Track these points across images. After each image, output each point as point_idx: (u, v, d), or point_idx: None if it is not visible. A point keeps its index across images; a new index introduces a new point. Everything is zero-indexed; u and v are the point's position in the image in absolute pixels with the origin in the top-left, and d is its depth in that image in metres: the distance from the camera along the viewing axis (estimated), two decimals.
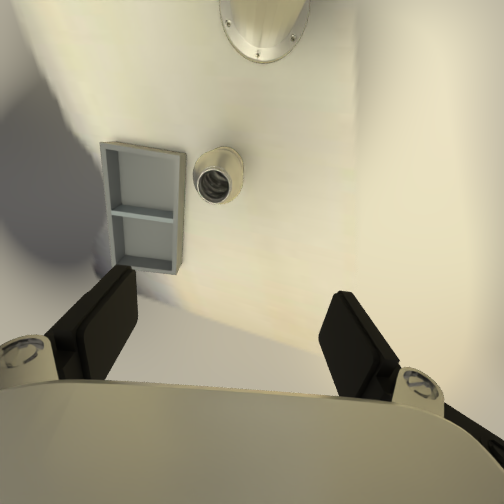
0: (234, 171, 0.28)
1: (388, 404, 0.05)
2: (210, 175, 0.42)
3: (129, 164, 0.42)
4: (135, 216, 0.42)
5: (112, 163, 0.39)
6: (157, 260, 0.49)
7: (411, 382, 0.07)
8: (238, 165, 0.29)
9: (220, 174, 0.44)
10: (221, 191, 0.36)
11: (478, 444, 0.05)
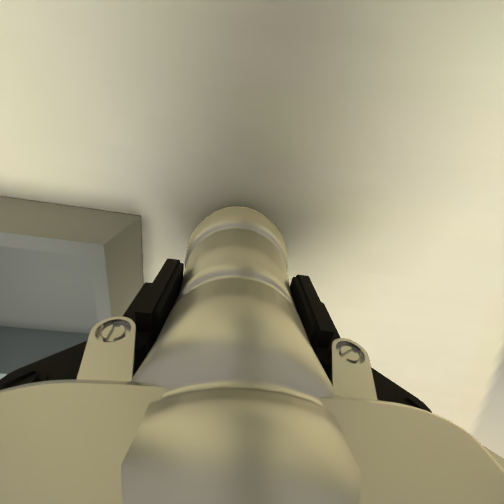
0: None
1: (388, 404, 0.05)
2: None
3: None
4: None
5: None
6: None
7: (343, 352, 0.08)
8: None
9: None
10: None
11: (478, 444, 0.05)
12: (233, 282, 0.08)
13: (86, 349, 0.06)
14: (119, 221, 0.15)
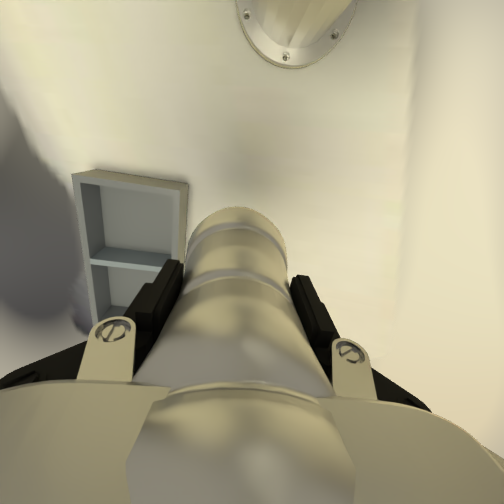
0: None
1: (388, 404, 0.05)
2: None
3: (113, 198, 0.32)
4: (121, 265, 0.32)
5: (90, 199, 0.30)
6: None
7: (343, 352, 0.08)
8: None
9: None
10: None
11: (478, 444, 0.05)
12: (233, 282, 0.08)
13: (86, 349, 0.06)
14: (180, 184, 0.31)
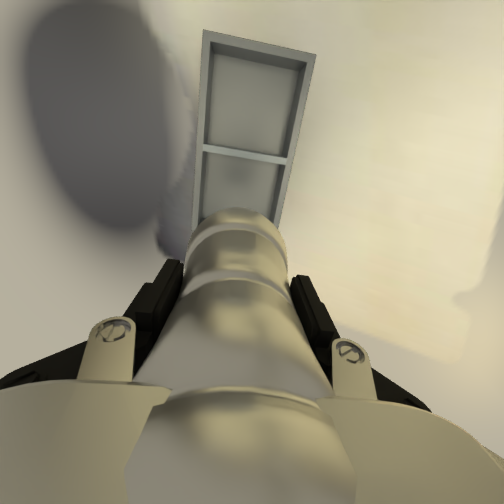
0: None
1: (388, 404, 0.05)
2: None
3: (226, 81, 0.30)
4: (235, 153, 0.29)
5: (210, 72, 0.27)
6: None
7: (343, 352, 0.08)
8: None
9: None
10: None
11: (478, 444, 0.05)
12: (233, 284, 0.08)
13: (86, 349, 0.06)
14: None
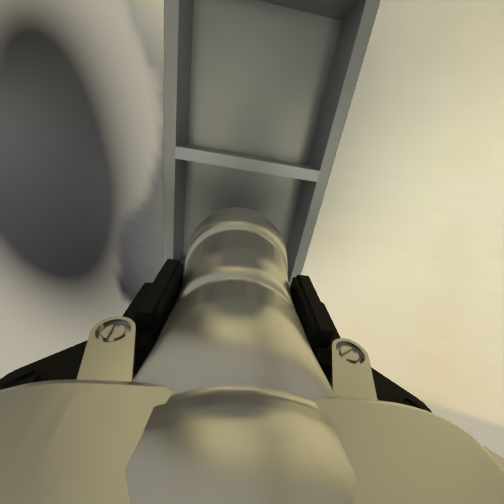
0: None
1: (388, 404, 0.05)
2: None
3: (216, 37, 0.17)
4: (232, 163, 0.17)
5: (185, 15, 0.15)
6: None
7: (343, 352, 0.08)
8: None
9: None
10: None
11: (478, 444, 0.05)
12: (233, 284, 0.08)
13: (86, 349, 0.06)
14: None
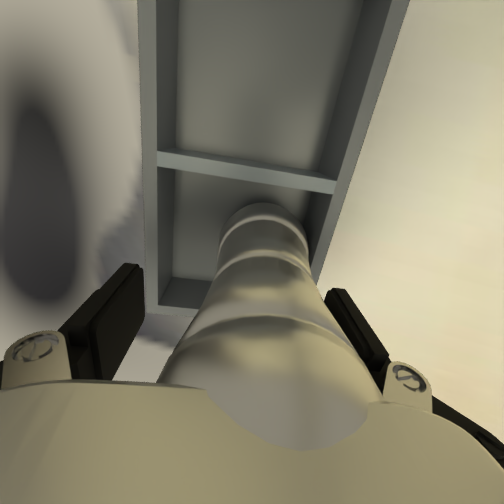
0: None
1: (388, 404, 0.05)
2: None
3: (208, 16, 0.14)
4: (228, 171, 0.14)
5: None
6: None
7: (400, 376, 0.07)
8: None
9: None
10: None
11: (478, 444, 0.05)
12: (266, 259, 0.10)
13: None
14: None
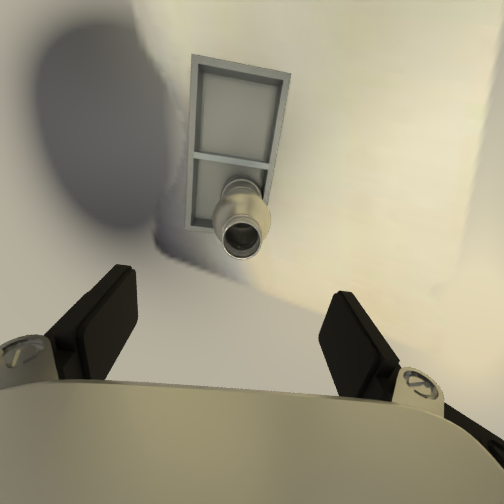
0: (262, 217, 0.24)
1: (388, 404, 0.05)
2: None
3: (214, 95, 0.33)
4: (223, 160, 0.33)
5: (199, 89, 0.31)
6: None
7: (411, 382, 0.07)
8: (266, 208, 0.25)
9: None
10: (240, 229, 0.32)
11: (478, 444, 0.05)
12: None
13: None
14: None
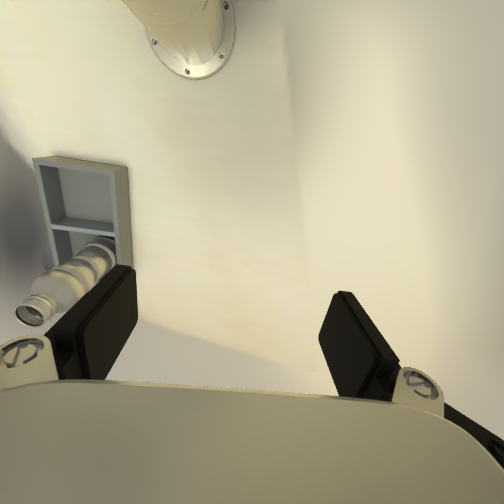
0: (63, 292, 0.33)
1: (388, 404, 0.05)
2: None
3: (69, 178, 0.42)
4: (76, 230, 0.42)
5: (49, 178, 0.40)
6: None
7: (411, 382, 0.07)
8: (70, 284, 0.34)
9: None
10: None
11: (478, 444, 0.05)
12: (75, 259, 0.38)
13: None
14: (119, 167, 0.41)
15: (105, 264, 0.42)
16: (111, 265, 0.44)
